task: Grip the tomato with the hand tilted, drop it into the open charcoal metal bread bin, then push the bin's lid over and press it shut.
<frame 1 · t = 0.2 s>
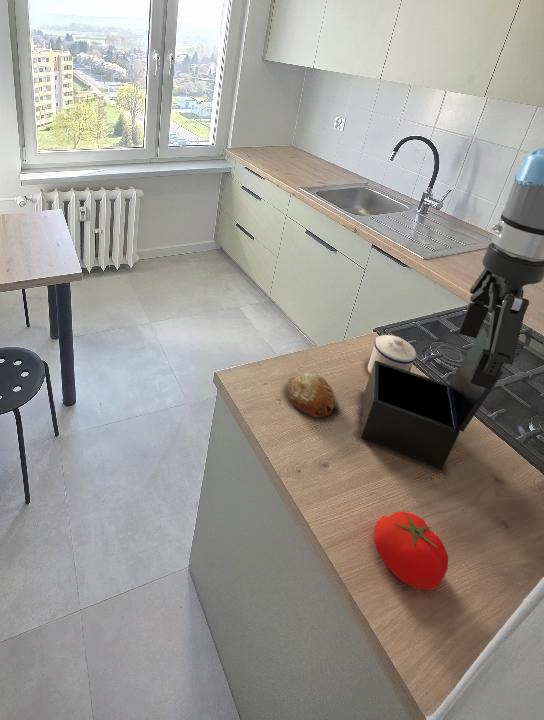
hand: (472, 358, 72), 28 cm above the counter, tool pointing down, fingers open, 13 cm apart
bread roll: (310, 401, 96), on the counter
teacup with lid: (385, 371, 106), on the counter
tomato: (401, 563, 68), on the counter
breadbin: (398, 431, 90), on the counter
bin lid: (473, 378, 79), point 19 cm above the counter, hinge at 95.0°
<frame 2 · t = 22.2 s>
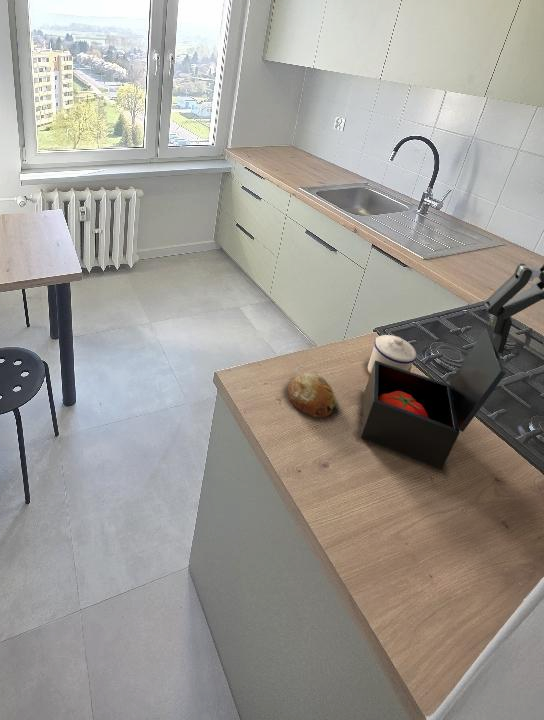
tomato: (394, 429, 90), point 1 cm above the counter, touching breadbin
bin lid: (474, 378, 79), point 19 cm above the counter, hinge at 96.4°, touching gripper
everything else where it was.
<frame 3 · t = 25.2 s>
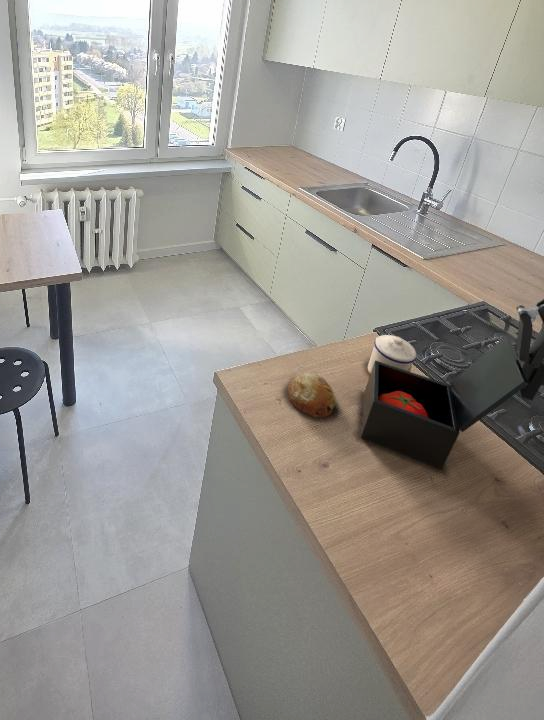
hand: (525, 393, 76), 20 cm above the counter, tool pointing down, fingers closed
bin lid: (484, 383, 78), point 19 cm above the counter, hinge at 108.9°, touching gripper
everything else where it was.
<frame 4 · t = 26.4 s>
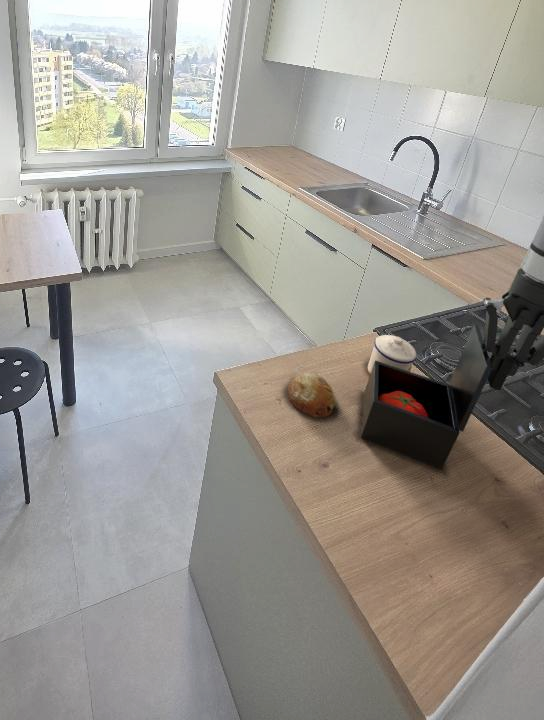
hand: (493, 383, 77), 20 cm above the counter, tool pointing down, fingers closed
bin lid: (468, 376, 79), point 19 cm above the counter, hinge at 89.0°, touching gripper, hand
everything else where it was.
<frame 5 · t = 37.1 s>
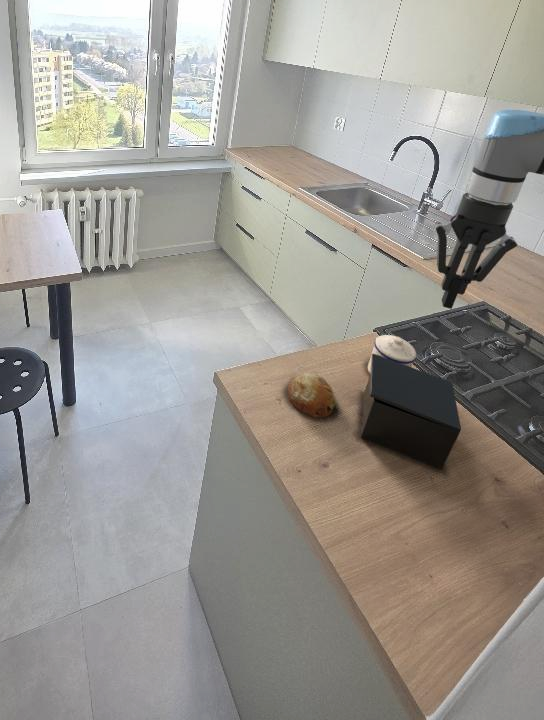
hand: (446, 304, 85), 28 cm above the counter, tool pointing down, fingers closed
bin lid: (412, 389, 85), point 12 cm above the counter, hinge at 3.0°
everything else where it was.
at the end: tomato inside the target area in the breadbin (0.9 cm from its centre), point 0.6 cm above the breadbin's base; bin lid at +3° (first picture: +95°) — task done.
